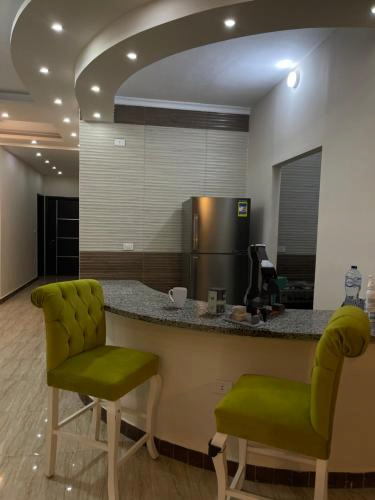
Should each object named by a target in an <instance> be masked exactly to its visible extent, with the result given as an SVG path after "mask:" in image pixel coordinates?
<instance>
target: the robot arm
mask: <svg viewBox="0 0 375 500" xmlns="http://www.w3.org/2000/svg"><path fill="white" fill-rule="evenodd" d="M247 254H248V257H249V259H250V276H249V278H250V279H249V286H248V287H247V289H246V293H245V295H244V298H243V303H244V305H245V313H250V314H251V316H255V315H259V316H261V317H262V321H263V322H265V324H266V323H267V321H268V320H269V318H270V316H271V315H270V314H271V313H272V311H277V313H280V312H284V311H286V306H285V304H282V303H276V304H273V301H272V296H273V295H274V294H276V293H277V292H278V290H279V287H278V285H277V283H275V281H277V278H278V273H277V270H276V267H275V265H274V264H273V263H272V262H270V260H269V256H268V253H267V251H266V245H265V244H259V243H258V244H250V245H249V246H248V247H247ZM259 280H260V281H261V290H260V287H259ZM279 291H280V290H279ZM267 305H268V306H267ZM259 311H260V312H261V314H259Z"/></svg>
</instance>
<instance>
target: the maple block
mask: <svg viewBox="0 0 375 500" xmlns="http://www.w3.org/2000/svg"><path fill="white" fill-rule="evenodd" d="M231 312H232V319H236V315H238V314H242V313H246V306H243V305H236V306H232V307H231Z"/></svg>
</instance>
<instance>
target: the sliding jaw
mask: <svg viewBox="0 0 375 500" xmlns="http://www.w3.org/2000/svg"><path fill="white" fill-rule="evenodd" d="M236 320H239V321H242V320H250V321H251V322H252V323H256V322H260V321H261V315H260V314H259V315H255V316H251V314H250V313H246V312H245V313H242V314H238V315H236Z"/></svg>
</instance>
